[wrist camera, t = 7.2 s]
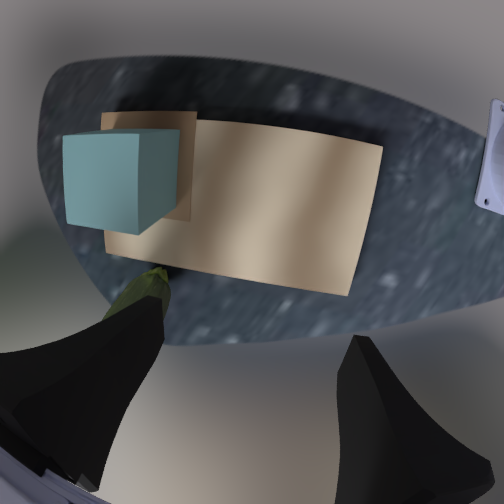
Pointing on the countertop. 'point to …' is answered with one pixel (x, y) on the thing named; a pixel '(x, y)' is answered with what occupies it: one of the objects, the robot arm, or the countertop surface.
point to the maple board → (258, 202)
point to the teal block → (120, 178)
